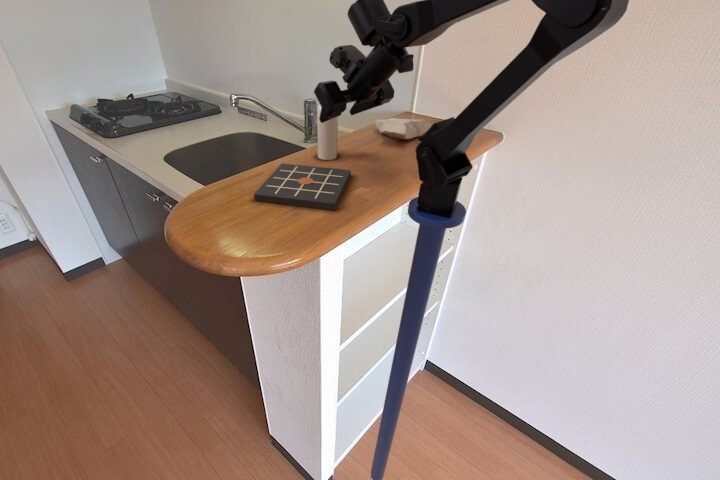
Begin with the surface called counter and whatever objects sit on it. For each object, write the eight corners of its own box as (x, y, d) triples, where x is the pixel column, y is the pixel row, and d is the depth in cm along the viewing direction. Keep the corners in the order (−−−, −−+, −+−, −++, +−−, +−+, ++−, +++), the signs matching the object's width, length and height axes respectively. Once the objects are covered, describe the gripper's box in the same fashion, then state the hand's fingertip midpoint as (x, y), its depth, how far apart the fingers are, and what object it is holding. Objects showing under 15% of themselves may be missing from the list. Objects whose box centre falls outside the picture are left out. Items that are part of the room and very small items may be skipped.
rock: (353, 139, 98) (401, 146, 89) (353, 122, 96) (402, 127, 87) (393, 128, 112) (438, 132, 103) (394, 112, 109) (440, 115, 101)
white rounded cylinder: (340, 155, 88) (341, 98, 80) (331, 161, 85) (332, 103, 77) (323, 151, 90) (323, 96, 82) (314, 158, 87) (313, 101, 79)
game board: (350, 176, 78) (350, 169, 77) (334, 210, 66) (334, 203, 65) (282, 169, 81) (281, 162, 80) (254, 200, 69) (253, 193, 68)
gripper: (390, 27, 71) (349, 79, 84) (320, 32, 61) (286, 91, 75) (415, 76, 71) (370, 121, 84) (349, 89, 62) (310, 138, 75)
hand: (336, 117), depth 80 cm, fingers open, 9 cm apart
